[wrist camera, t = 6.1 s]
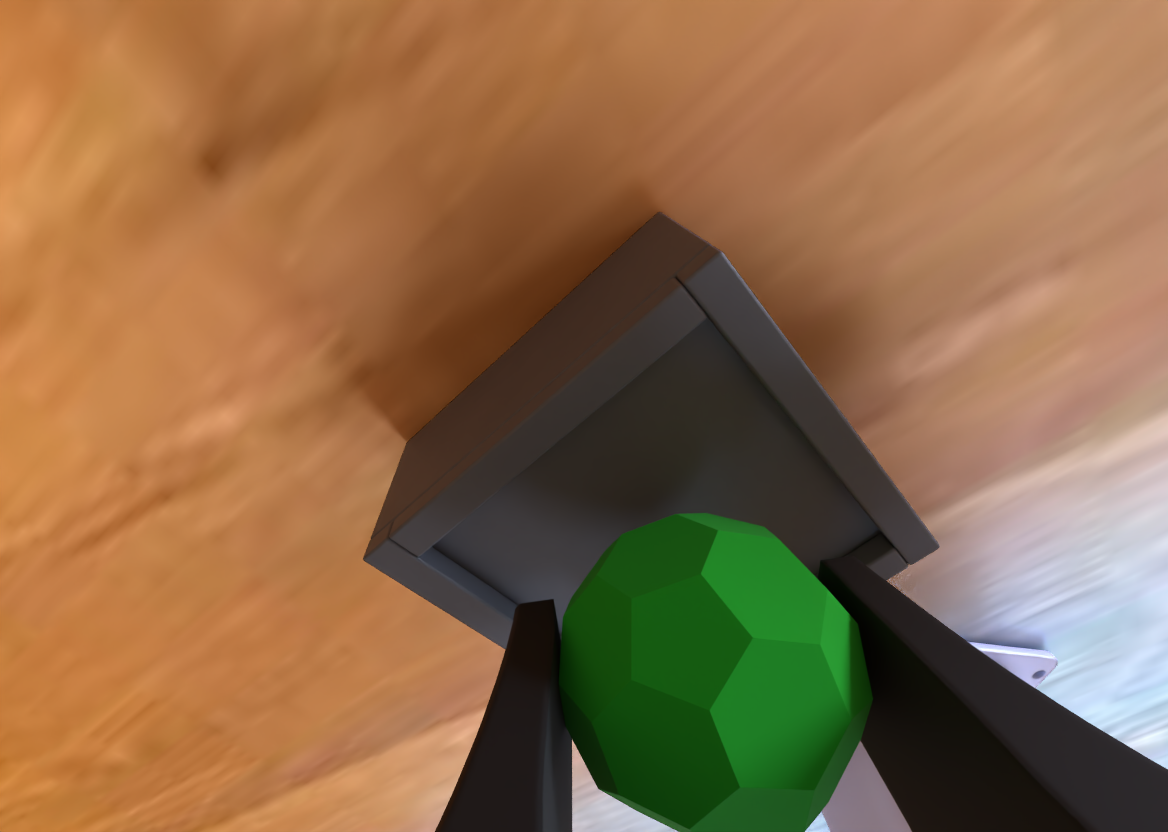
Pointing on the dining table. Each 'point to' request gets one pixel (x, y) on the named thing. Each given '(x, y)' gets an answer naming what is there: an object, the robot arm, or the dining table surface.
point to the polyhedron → (712, 678)
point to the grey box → (632, 443)
